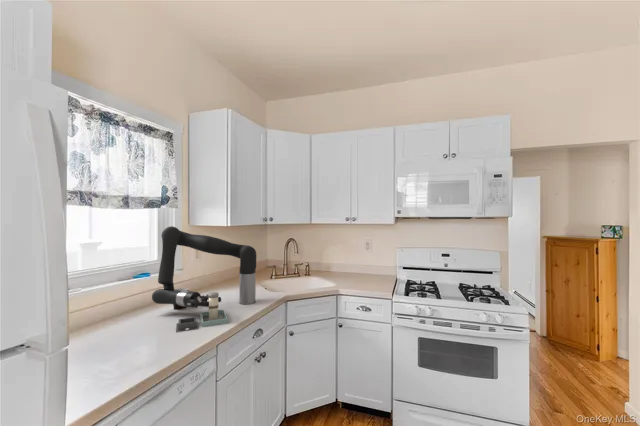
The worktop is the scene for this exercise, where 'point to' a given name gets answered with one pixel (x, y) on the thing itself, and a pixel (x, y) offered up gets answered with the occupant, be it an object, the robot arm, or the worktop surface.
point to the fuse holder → (187, 324)
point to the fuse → (213, 306)
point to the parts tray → (214, 322)
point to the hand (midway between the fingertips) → (214, 302)
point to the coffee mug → (178, 307)
